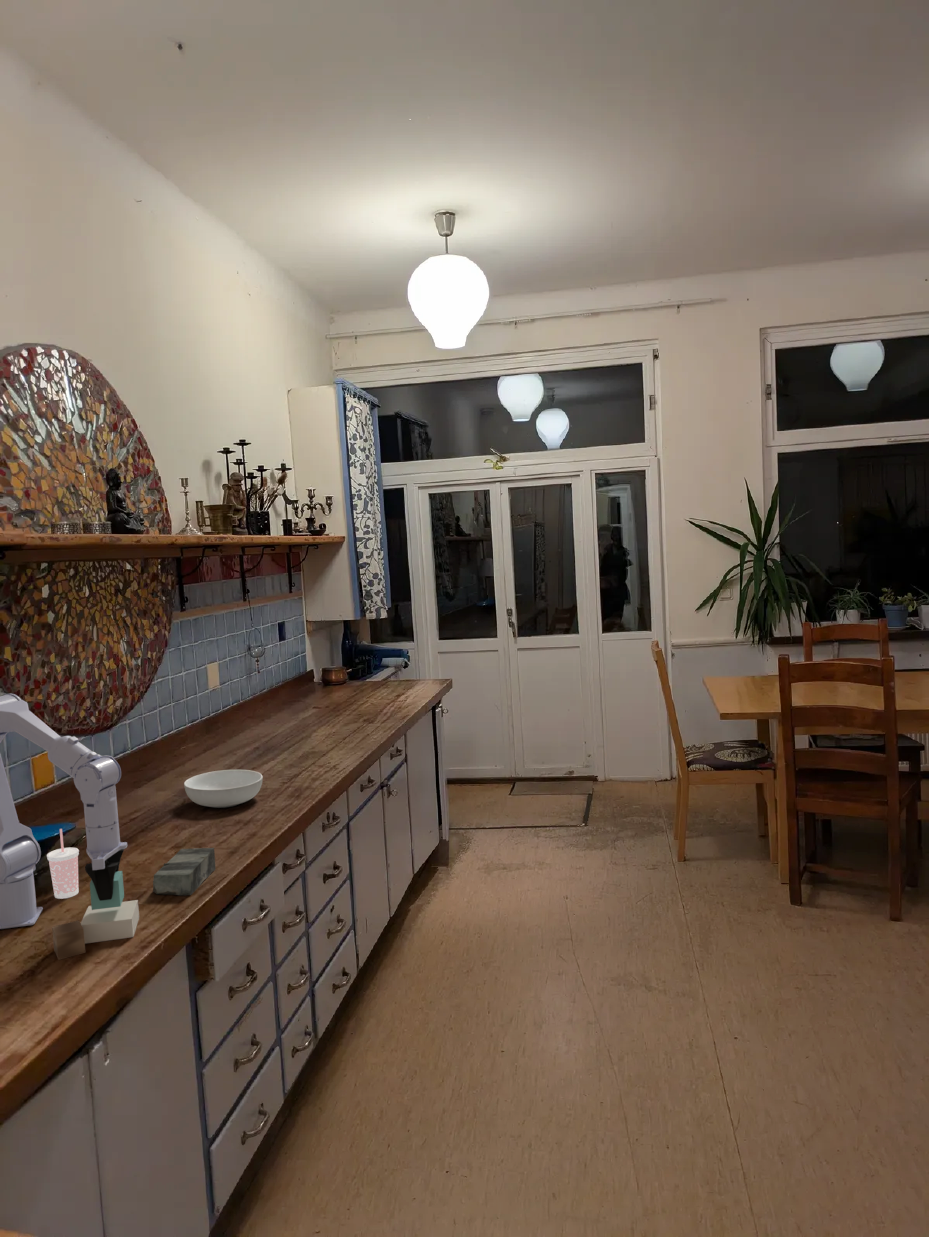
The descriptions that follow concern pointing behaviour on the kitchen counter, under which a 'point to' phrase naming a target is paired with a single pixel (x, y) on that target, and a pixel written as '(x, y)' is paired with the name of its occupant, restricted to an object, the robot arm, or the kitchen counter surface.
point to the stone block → (184, 872)
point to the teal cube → (116, 897)
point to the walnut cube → (68, 939)
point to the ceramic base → (110, 922)
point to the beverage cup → (64, 870)
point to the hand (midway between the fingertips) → (108, 893)
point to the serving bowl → (223, 787)
